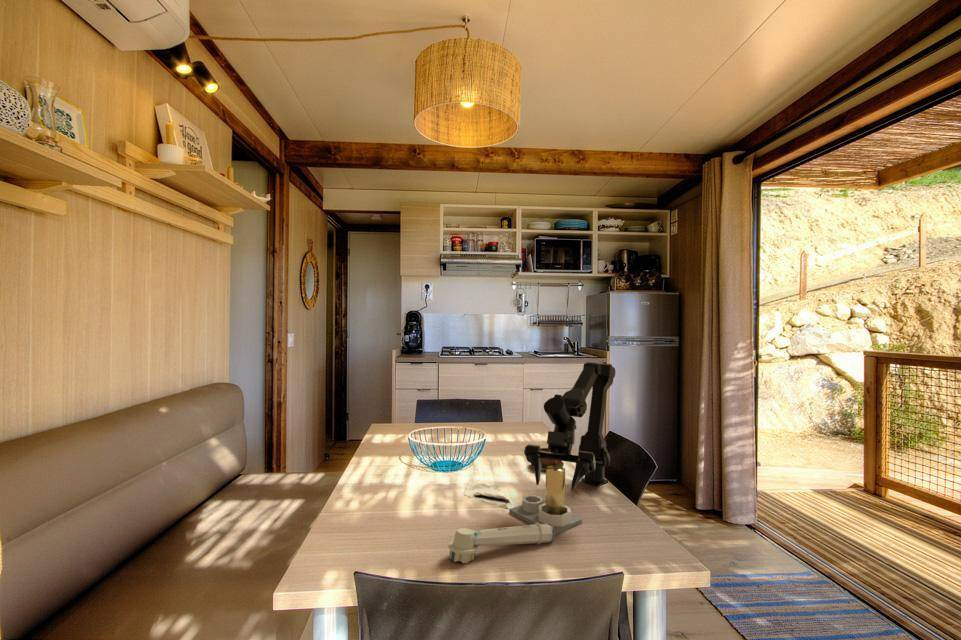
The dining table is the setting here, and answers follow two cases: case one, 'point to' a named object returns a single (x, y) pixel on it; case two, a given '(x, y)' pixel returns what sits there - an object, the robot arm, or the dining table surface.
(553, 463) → the cup and saucer
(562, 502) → the brass tumbler cup
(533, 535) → the cream long-handled tool
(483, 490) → the cloth
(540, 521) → the board
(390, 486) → the dining table surface
